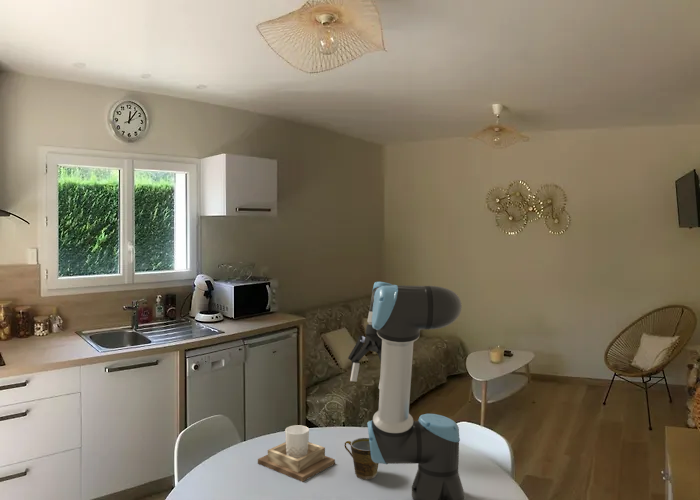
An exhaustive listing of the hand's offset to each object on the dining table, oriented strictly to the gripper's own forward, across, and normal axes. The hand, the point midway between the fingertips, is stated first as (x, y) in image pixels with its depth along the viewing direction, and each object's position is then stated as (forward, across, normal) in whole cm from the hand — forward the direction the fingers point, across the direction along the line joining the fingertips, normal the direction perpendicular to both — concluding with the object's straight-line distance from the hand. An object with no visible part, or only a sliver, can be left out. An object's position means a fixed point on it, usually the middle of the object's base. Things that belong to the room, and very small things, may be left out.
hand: (367, 385), depth 183 cm
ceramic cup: (+26, -11, +8) cm, 30 cm away
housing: (+28, +9, +18) cm, 35 cm away
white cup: (+27, +9, +18) cm, 34 cm away
